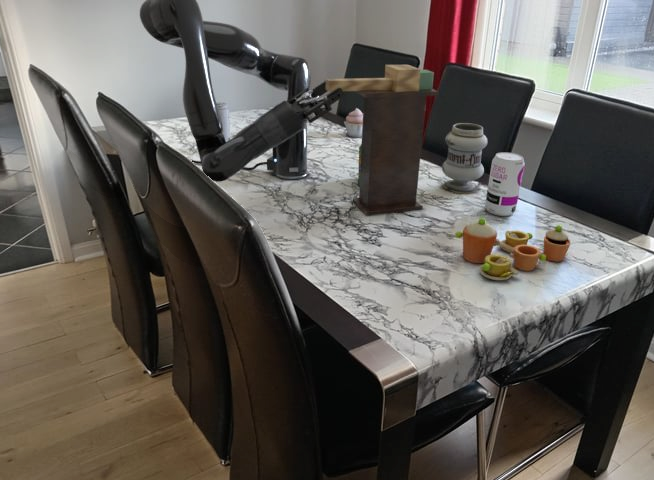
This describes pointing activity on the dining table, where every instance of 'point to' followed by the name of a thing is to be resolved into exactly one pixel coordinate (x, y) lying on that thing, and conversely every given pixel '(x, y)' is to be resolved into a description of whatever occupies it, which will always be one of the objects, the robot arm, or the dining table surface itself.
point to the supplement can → (504, 183)
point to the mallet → (381, 81)
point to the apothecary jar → (464, 157)
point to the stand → (391, 150)
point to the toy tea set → (509, 249)
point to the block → (426, 80)
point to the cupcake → (354, 123)
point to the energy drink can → (224, 119)
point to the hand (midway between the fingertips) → (336, 87)
